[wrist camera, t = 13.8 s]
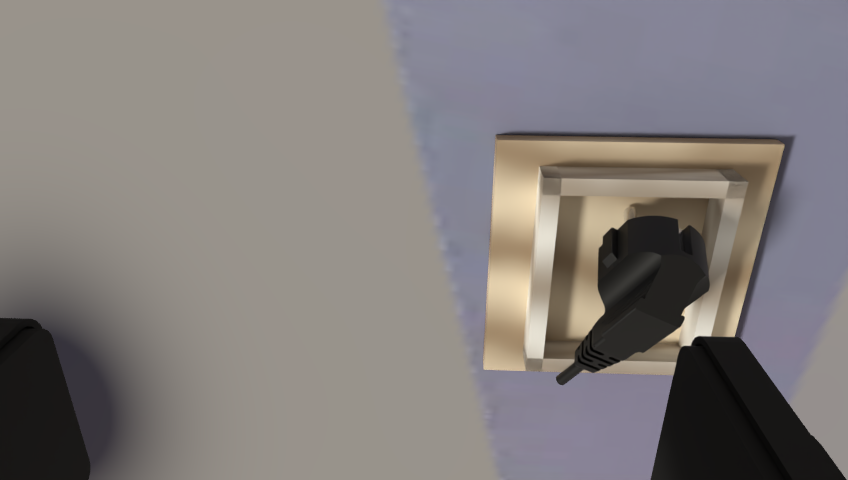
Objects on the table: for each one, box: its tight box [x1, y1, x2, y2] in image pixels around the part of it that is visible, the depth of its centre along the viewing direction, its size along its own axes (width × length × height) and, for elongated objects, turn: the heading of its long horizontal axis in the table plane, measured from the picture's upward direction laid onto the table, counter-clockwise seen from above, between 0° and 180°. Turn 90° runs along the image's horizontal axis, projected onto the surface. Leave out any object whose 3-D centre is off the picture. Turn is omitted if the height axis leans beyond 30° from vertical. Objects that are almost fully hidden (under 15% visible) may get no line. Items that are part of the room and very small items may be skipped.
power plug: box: [556, 207, 710, 385], centre depth 37 cm, size 6×8×12 cm
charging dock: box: [483, 135, 785, 375], centre depth 39 cm, size 16×16×3 cm
